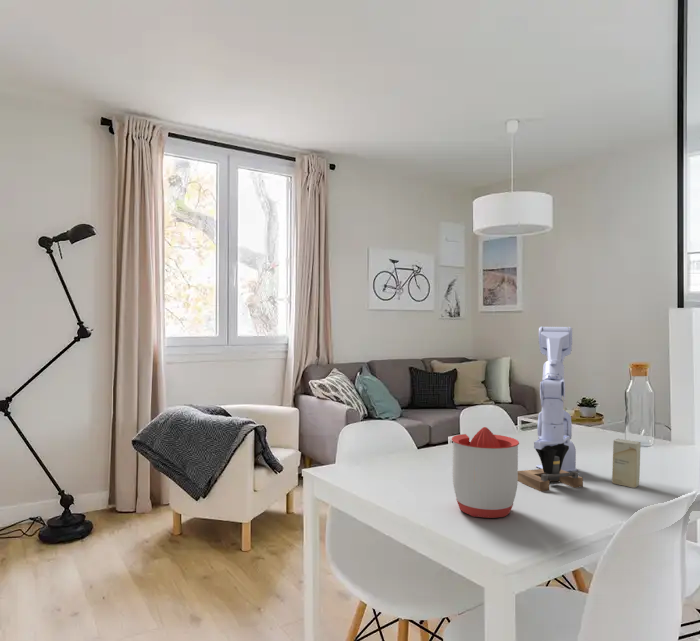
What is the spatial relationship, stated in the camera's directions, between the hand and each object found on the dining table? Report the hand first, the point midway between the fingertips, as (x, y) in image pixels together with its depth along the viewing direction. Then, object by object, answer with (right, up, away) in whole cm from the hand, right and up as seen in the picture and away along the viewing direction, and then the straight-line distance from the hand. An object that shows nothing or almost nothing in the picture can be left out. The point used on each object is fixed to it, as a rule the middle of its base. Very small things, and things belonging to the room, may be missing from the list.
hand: (552, 471), depth 153 cm
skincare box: (+21, -4, +1) cm, 22 cm away
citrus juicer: (-24, -4, -21) cm, 32 cm away
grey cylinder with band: (0, -2, 0) cm, 2 cm away
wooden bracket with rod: (0, -4, +1) cm, 4 cm away
